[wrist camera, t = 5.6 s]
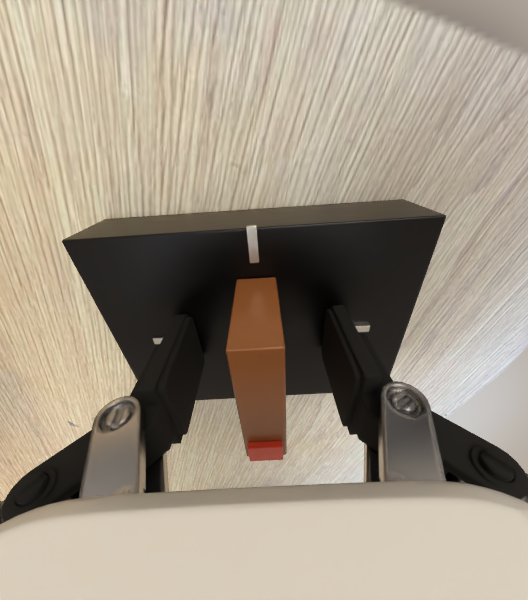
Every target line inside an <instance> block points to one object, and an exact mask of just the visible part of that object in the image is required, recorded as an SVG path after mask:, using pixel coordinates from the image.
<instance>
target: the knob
mask: <svg viewBox="0 0 528 600" xmlns="http://www.w3.org/2000/svg"><path fill="white" fill-rule="evenodd" d="M226 355H227V360H228V365H229V370H230V375H231V380H232V385H233V390H234V395H235V399H236V404H237V409H238V414H239V419H240V424H241V429H242V434H243V439H244V444H245V449H246V453H247V456H249V458H250V461H262V460H282V459H283V455H285V454H286V369H285V342H284V334H283V327H282V319H281V312H280V305H279V297H278V290H277V282H276V278H275V277H271V278H254V279H238V280H237V281H236V288H235V294H234V300H233V307H232V313H231V319H230V326H229V332H228V338H227V345H226Z"/></svg>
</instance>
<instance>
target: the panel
mask: <svg viewBox="0 0 528 600" xmlns="http://www.w3.org/2000/svg"><path fill="white" fill-rule="evenodd" d="M445 218H446V215H443V214H441V213H438V212H435V211H433V210H430V209H427V208H425V207H422V206H419V205H417V204H414V203H411V202H409V201H406V200H388V201H373V202H358V203H343V204H328V205H312V206H297V207H282V208H267V209H252V210H237V211H222V212H207V213H192V214H177V215H162V216H147V217H132V218H117V219H105V220H103V221H101V222H99V223H97V224H95V225H93V226H91V227H89V228H87V229H85V230H83V231H80V232H78V233H76V234H74V235H72V236H70V237H68V238H66V239H64V240H63V241H62V242H63V244H64V246H65V248H66V250H67V252H68V254H69V255H70V257H71V259H72V261H73V263H74V265H75V266H76V268H77V270H78V272H79V274H80V276H81V277H82V279H83V281H84V283H85V285H86V287H87V288H88V290H89V292H90V294H91V296H92V298H93V299H94V301H95V303H96V305H97V307H98V309H99V310H100V312H101V314H102V316H103V318H104V320H105V321H106V323H107V325H108V327H109V329H110V331H111V332H112V334H113V336H114V338H115V340H116V342H117V343H118V345H119V347H120V349H121V351H122V353H123V354H124V356H125V358H126V360H127V362H128V364H129V365H130V367H131V369H132V371H133V373H134V375H135V377H136V378H137V380H138V379H139V377H140V375H141V373H142V371H143V369H144V367H145V365H146V363H147V362H148V360H149V358H150V356H151V354H152V352H153V350H154V348H155V346H156V345H158V344H160V343H161V341H162V339H163V337H164V335H165V333H166V331H167V329H168V327H169V325H170V323H171V321H172V319H173V317H174V315H182V314H188V315H189V317H192V318H193V320H194V323H195V327H196V330H197V334H198V338H199V341H200V345H201V348H202V352H203V355H204V367H203V371H202V375H201V379H200V384H199V388H198V392H197V396H196V400H209V399H227V398H235V395H234V390H233V385H232V380H231V375H230V370H229V365H228V360H227V355H226V345H227V338H228V332H229V326H230V319H231V313H232V307H233V300H234V294H235V288H236V281H237V280H238V279H254V278H271V277H275V278H276V282H277V290H278V297H279V305H280V312H281V319H282V327H283V334H284V342H285V369H286V395H299V394H318V393H333V392H332V389H331V386H330V382H329V379H328V376H327V373H326V369H325V366H324V363H323V359H322V354H321V350H322V341H323V331H324V322H325V312H326V309H330V306H335V305H344V307H345V308H346V310H347V312H348V314H349V316H350V318H351V319H352V321H353V323H354V325H355V327H356V329H357V331H358V332H359V333H361V332H363V333H365V334H366V335H367V337H368V339H369V340H370V342H371V344H372V346H373V347H374V349H375V351H376V352H377V354H378V356H379V358H380V359H381V361H382V363H383V365H384V366H385V368H386V370H387V372H388V373H389V375H390V373H391V371H392V368H393V365H394V362H395V359H396V357H397V354H398V351H399V348H400V345H401V342H402V340H403V337H404V334H405V331H406V328H407V326H408V323H409V320H410V317H411V314H412V311H413V309H414V306H415V303H416V300H417V297H418V295H419V292H420V289H421V286H422V283H423V280H424V278H425V275H426V272H427V269H428V266H429V264H430V261H431V258H432V255H433V252H434V249H435V247H436V244H437V241H438V238H439V235H440V232H441V230H442V227H443V224H444V221H445Z"/></svg>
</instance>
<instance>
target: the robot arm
mask: <svg viewBox="0 0 528 600" xmlns="http://www.w3.org/2000/svg"><path fill="white" fill-rule="evenodd" d="M321 354H322V359H323V363H324V366H325V369H326V373H327V376H328V379H329V382H330V386H331V389H332V392H333V396H334V399H335V402H336V406H337V409H338V412H339V415H340V419H341V422H342V425H343V426H347V427H348V430H349V433H350V435H351V434H357V435H358V438H359V440H361V441H362V442H364V443H365V444H364V483H341V484H318V485H295V486H274V487H254V488H233V489H213V490H194V491H176V492H169V483H168V468H167V453H166V452H167V451H168V450H169V449H170V448H171V444H176V443H181V440H182V436H183V435H185V434H187V432H188V428H189V424H190V420H191V416H192V412H193V408H194V404H195V400H196V396H197V392H198V388H199V384H200V379H201V375H202V371H203V367H204V355H203V352H202V348H201V345H200V341H199V338H198V334H197V330H196V327H195V323H194V320H193V318H192V317H189V315H188V314H182V315H174V317H173V319H172V321H171V323H170V325H169V327H168V329H167V331H166V333H165V335H164V337H163V339H162V341H161V343H160V344H158V345H156V346H155V348H154V350H153V352H152V354H151V356H150V358H149V360H148V362H147V363H146V365H145V367H144V369H143V371H142V373H141V375H140V377H139V379H138V381H137V383H136V385H135V387H134V389H133V391H132V393H131V395H130V396H124V397H120V398H117V399H115V400H113V401H111V402H110V403H108V404H107V405H105V406H104V407H103V408H102V409H101V410H100V411H99V413H98V414H97V416H96V417H95V420H94V423H93V427H92V430H91V431H89V432H88V433H86V434H85V435H84V436H82V437H81V438H79V439H78V440H76V441H75V442H73V443H72V444H70V445H69V446H67V447H66V448H64V449H63V450H61V451H60V452H58V453H57V454H55V455H54V456H52V457H51V458H49V459H48V460H46V461H45V462H43V463H42V464H40V465H39V466H37V467H36V468H34V469H33V470H31V471H30V472H29V473H28V474H26V475H25V476H24V477H22V478H21V479H20V480H19V482H18V483H17V484H16V485H15V486H14V487H13V488H12V490H11V491H10V492H9V494H8V495H7V497H6V499H5V500H4V501H2V502H1V501H0V600H528V474H527V473H525V472H524V470H523V469H522V468H521V466H520V465H519V464H518V463H517V462H516V461H515V460H514V459H513V458H512V457H511V456H510V455H509V454H507V453H506V452H504V451H503V450H501V449H500V448H498V447H497V446H495V445H493V444H491V443H489V442H487V441H486V440H484V439H482V438H480V437H478V436H476V435H475V434H473V433H471V432H469V431H467V430H465V429H464V428H462V427H460V426H458V425H456V424H454V423H452V422H450V421H449V420H447V419H445V418H443V417H442V416H440V415H438V414H436V413H434V412H433V411H431V409H430V405H429V403H428V400H427V399H426V397H425V396H424V395H423V394H422V393H421V392H420V391H419V390H418V389H416V388H415V387H413V386H411V385H409V384H406V383H403V382H393V380H392V379H391V377H390V375H389V373H388V372H387V370H386V368H385V366H384V365H383V363H382V361H381V359H380V358H379V356H378V354H377V352H376V351H375V349H374V347H373V346H372V344H371V342H370V340H369V339H368V337H367V335H366V334H365V333H363V332H361V333H359V332H358V331H357V329H356V327H355V325H354V323H353V321H352V319H351V318H350V316H349V314H348V312H347V310H346V308H345V307H344V305H335V306H330V309H326V312H325V322H324V331H323V341H322V350H321Z"/></svg>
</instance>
